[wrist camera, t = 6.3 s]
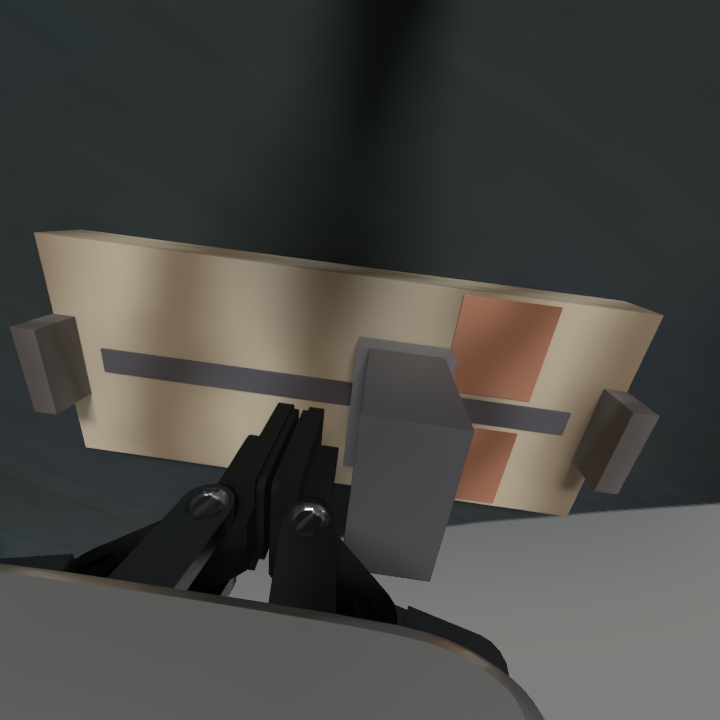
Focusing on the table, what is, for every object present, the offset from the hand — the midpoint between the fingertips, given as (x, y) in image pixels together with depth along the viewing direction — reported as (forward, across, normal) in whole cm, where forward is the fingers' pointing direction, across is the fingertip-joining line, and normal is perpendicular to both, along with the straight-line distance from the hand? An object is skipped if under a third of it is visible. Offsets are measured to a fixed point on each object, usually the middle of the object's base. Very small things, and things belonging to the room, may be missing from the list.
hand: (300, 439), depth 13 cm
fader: (+4, -4, 0) cm, 5 cm away
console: (+6, -1, 0) cm, 7 cm away
